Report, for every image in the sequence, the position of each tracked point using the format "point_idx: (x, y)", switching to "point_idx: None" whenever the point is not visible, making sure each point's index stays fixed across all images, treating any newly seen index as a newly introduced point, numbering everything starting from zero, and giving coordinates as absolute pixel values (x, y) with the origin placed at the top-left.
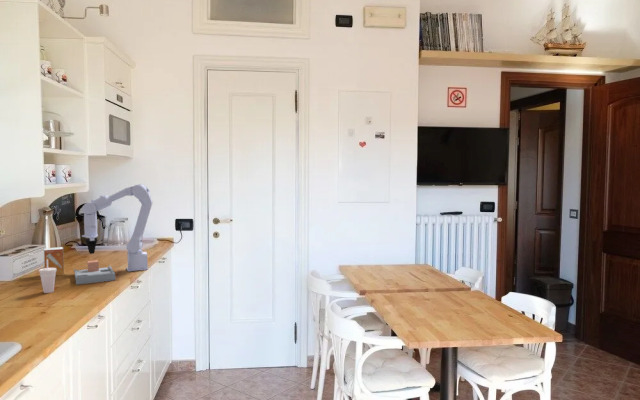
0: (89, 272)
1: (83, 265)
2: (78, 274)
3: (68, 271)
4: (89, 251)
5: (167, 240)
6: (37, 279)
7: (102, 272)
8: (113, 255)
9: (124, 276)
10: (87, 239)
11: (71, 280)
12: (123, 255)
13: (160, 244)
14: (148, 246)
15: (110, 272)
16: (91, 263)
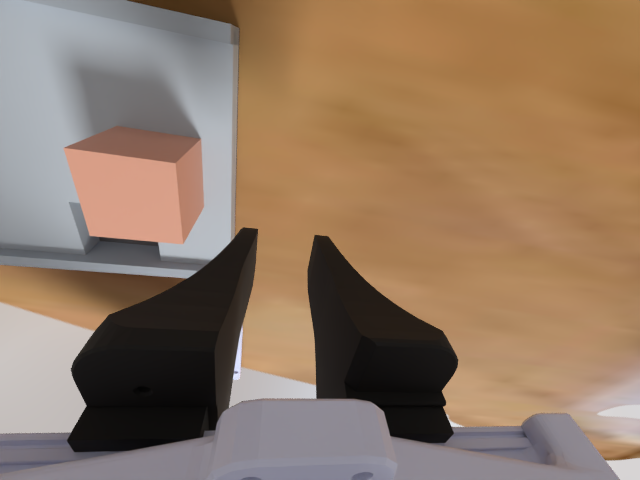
0: (81, 126)
1: (521, 169)
2: (8, 12)
3: (411, 14)
4: (232, 241)
5: (623, 457)
6: None
7: (49, 206)
8: (598, 328)
9: (35, 285)
10: (360, 376)
11: None
12: (552, 353)
13: (592, 442)
14: (606, 421)
15: (31, 246)
16: (81, 175)
